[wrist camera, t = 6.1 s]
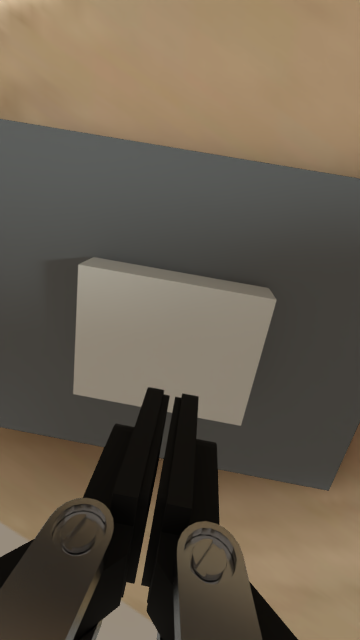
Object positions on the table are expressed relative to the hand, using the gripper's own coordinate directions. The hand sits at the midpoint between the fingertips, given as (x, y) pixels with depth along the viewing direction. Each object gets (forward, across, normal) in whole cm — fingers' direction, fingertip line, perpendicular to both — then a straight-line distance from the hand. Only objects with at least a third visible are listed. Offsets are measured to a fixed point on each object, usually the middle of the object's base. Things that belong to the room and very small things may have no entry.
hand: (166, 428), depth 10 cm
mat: (+8, 0, 0) cm, 8 cm away
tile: (+6, -4, 0) cm, 7 cm away
